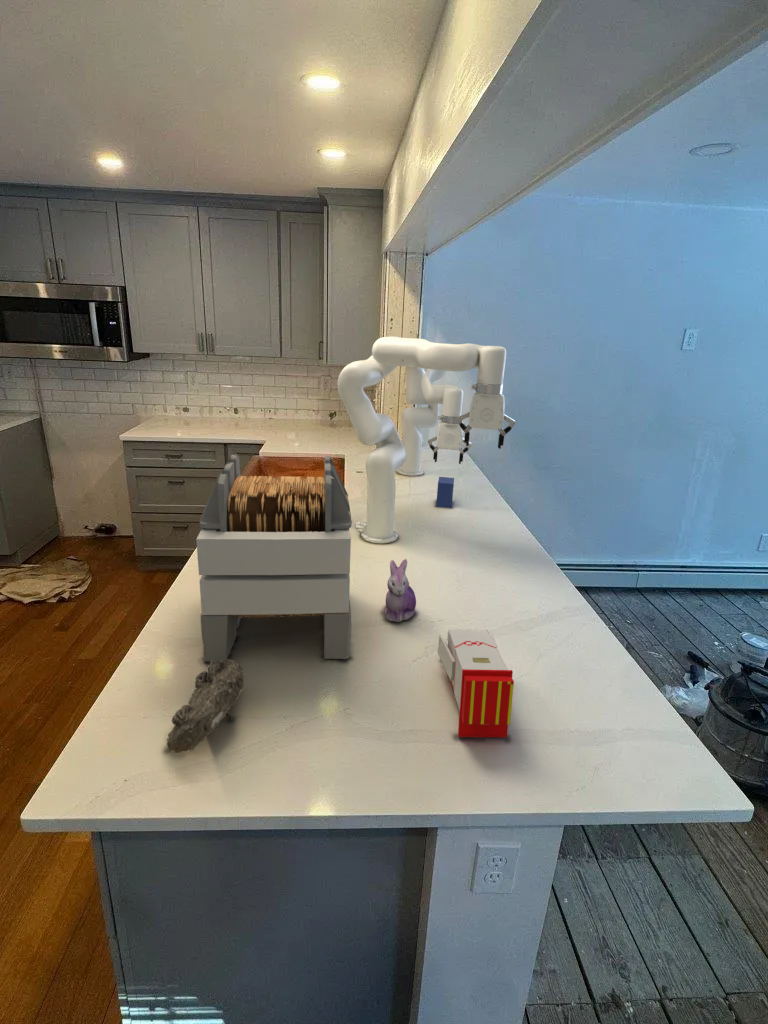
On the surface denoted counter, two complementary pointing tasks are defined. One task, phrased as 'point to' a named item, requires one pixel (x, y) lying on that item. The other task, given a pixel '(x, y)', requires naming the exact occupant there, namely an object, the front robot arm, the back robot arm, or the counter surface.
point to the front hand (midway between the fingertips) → (483, 446)
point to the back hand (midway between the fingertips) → (447, 462)
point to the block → (445, 492)
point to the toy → (478, 682)
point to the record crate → (275, 555)
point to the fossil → (206, 705)
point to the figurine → (399, 594)
